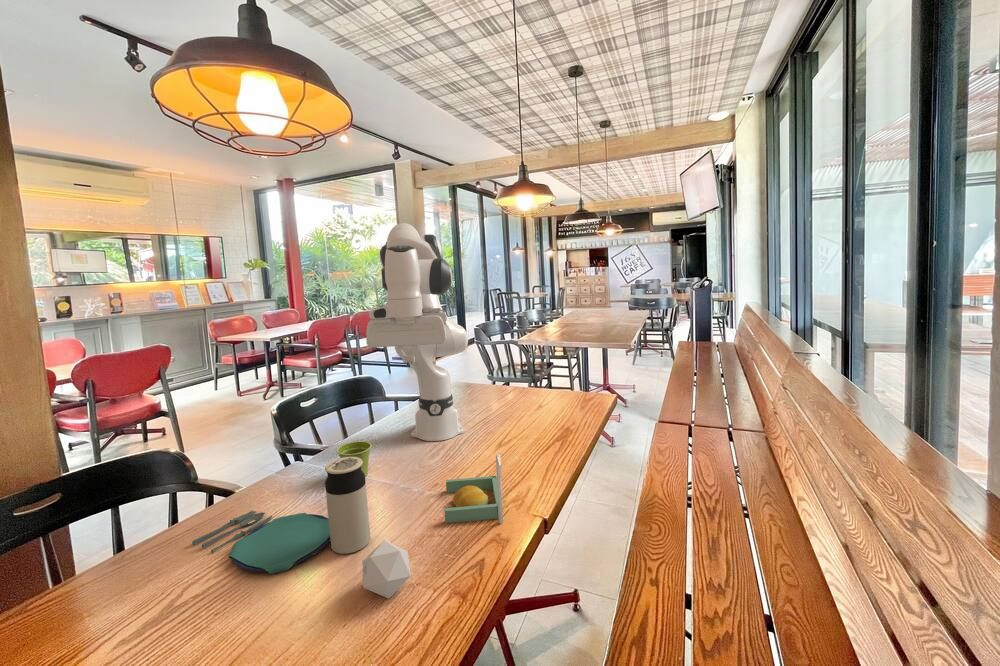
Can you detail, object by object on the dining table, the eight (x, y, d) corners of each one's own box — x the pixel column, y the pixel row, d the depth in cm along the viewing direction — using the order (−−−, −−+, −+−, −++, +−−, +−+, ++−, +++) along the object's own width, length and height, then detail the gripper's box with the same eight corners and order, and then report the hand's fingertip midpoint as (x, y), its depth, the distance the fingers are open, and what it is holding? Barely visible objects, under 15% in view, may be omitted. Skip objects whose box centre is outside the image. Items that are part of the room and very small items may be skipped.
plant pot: (380, 471, 128) (378, 443, 127) (357, 486, 120) (355, 456, 118) (356, 466, 132) (353, 439, 131) (332, 480, 124) (329, 451, 122)
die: (380, 571, 86) (349, 549, 80) (417, 548, 86) (389, 524, 80) (383, 613, 79) (349, 592, 73) (424, 587, 79) (393, 565, 73)
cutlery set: (277, 590, 81) (276, 579, 81) (181, 552, 94) (180, 542, 94) (354, 532, 99) (354, 522, 99) (265, 506, 112) (264, 498, 111)
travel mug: (377, 535, 96) (371, 457, 94) (354, 558, 89) (347, 474, 86) (347, 530, 99) (340, 454, 96) (323, 551, 91) (314, 470, 89)
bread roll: (462, 518, 102) (461, 502, 102) (449, 501, 110) (449, 486, 110) (494, 509, 106) (494, 493, 105) (480, 493, 114) (479, 478, 113)
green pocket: (446, 490, 115) (443, 432, 113) (496, 486, 116) (494, 428, 114) (444, 541, 93) (440, 470, 91) (505, 535, 94) (503, 465, 92)
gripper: (446, 306, 116) (449, 357, 118) (367, 310, 114) (371, 362, 116) (445, 308, 110) (448, 362, 112) (362, 312, 108) (367, 367, 110)
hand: (408, 362), depth 114 cm, fingers closed
